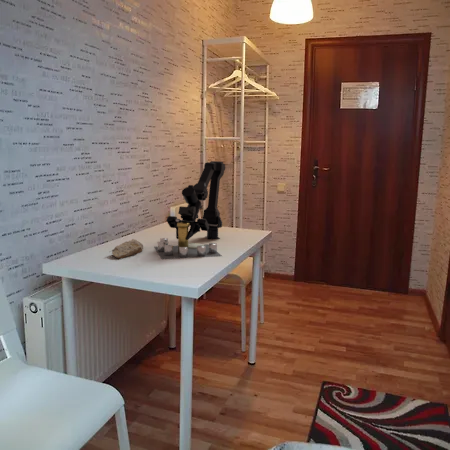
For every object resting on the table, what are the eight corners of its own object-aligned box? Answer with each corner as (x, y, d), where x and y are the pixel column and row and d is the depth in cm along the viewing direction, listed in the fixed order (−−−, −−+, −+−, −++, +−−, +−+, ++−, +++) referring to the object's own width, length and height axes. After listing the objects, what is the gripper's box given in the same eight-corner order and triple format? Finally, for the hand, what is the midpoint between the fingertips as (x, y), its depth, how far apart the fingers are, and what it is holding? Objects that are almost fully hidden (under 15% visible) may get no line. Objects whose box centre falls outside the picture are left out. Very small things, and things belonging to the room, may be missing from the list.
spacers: (162, 246, 206) (162, 237, 205) (218, 252, 197) (218, 243, 196) (145, 253, 192) (145, 244, 191) (204, 260, 182) (204, 250, 182)
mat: (153, 247, 205) (153, 246, 205) (208, 245, 212) (208, 244, 212) (161, 260, 182) (161, 259, 182) (222, 257, 190) (222, 256, 190)
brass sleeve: (176, 251, 197) (176, 222, 195) (187, 250, 198) (188, 221, 196) (178, 253, 192) (178, 224, 189) (190, 253, 193) (190, 223, 191)
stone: (133, 237, 204) (149, 233, 198) (138, 251, 204) (154, 246, 199) (100, 251, 186) (116, 246, 181) (105, 266, 187) (122, 261, 181)
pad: (183, 244, 210) (183, 243, 209) (201, 244, 212) (201, 242, 212) (187, 249, 201) (187, 247, 201) (206, 248, 204) (206, 247, 204)
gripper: (168, 198, 198) (156, 226, 190) (207, 200, 192) (196, 230, 183) (176, 213, 206) (165, 240, 198) (213, 216, 200) (203, 245, 192)
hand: (181, 239), depth 193 cm, fingers closed on brass sleeve, 4 cm apart
